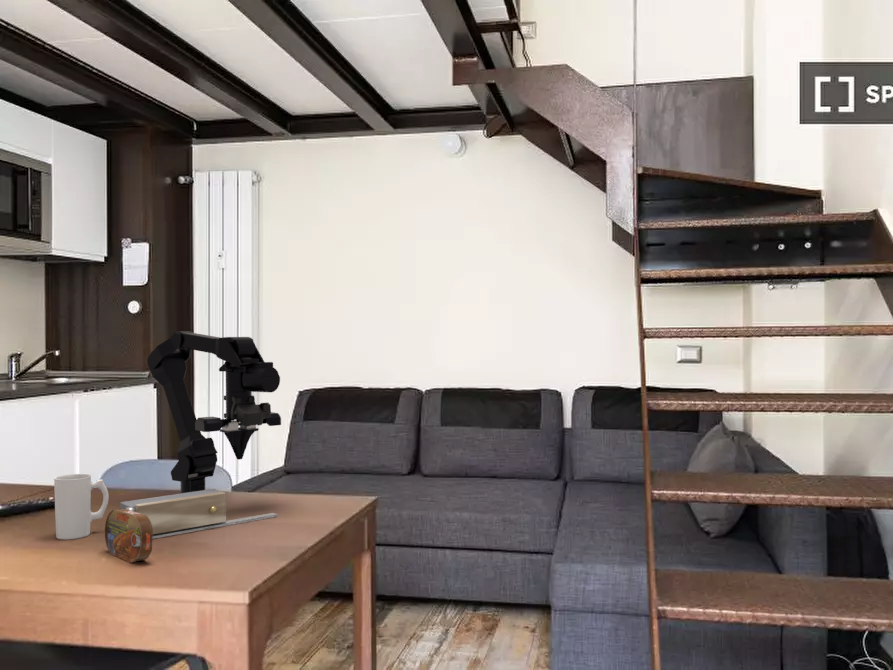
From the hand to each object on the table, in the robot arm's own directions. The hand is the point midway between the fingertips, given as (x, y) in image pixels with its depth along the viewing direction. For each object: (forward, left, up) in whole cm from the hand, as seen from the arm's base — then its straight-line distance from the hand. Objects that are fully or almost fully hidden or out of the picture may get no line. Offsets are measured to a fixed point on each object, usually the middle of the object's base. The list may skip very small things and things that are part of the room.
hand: (239, 459), depth 174 cm
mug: (-3, -33, -12) cm, 35 cm away
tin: (+20, -31, -12) cm, 39 cm away
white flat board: (+9, -12, -12) cm, 19 cm away
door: (+10, -17, -11) cm, 23 cm away
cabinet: (+5, -17, -12) cm, 21 cm away
